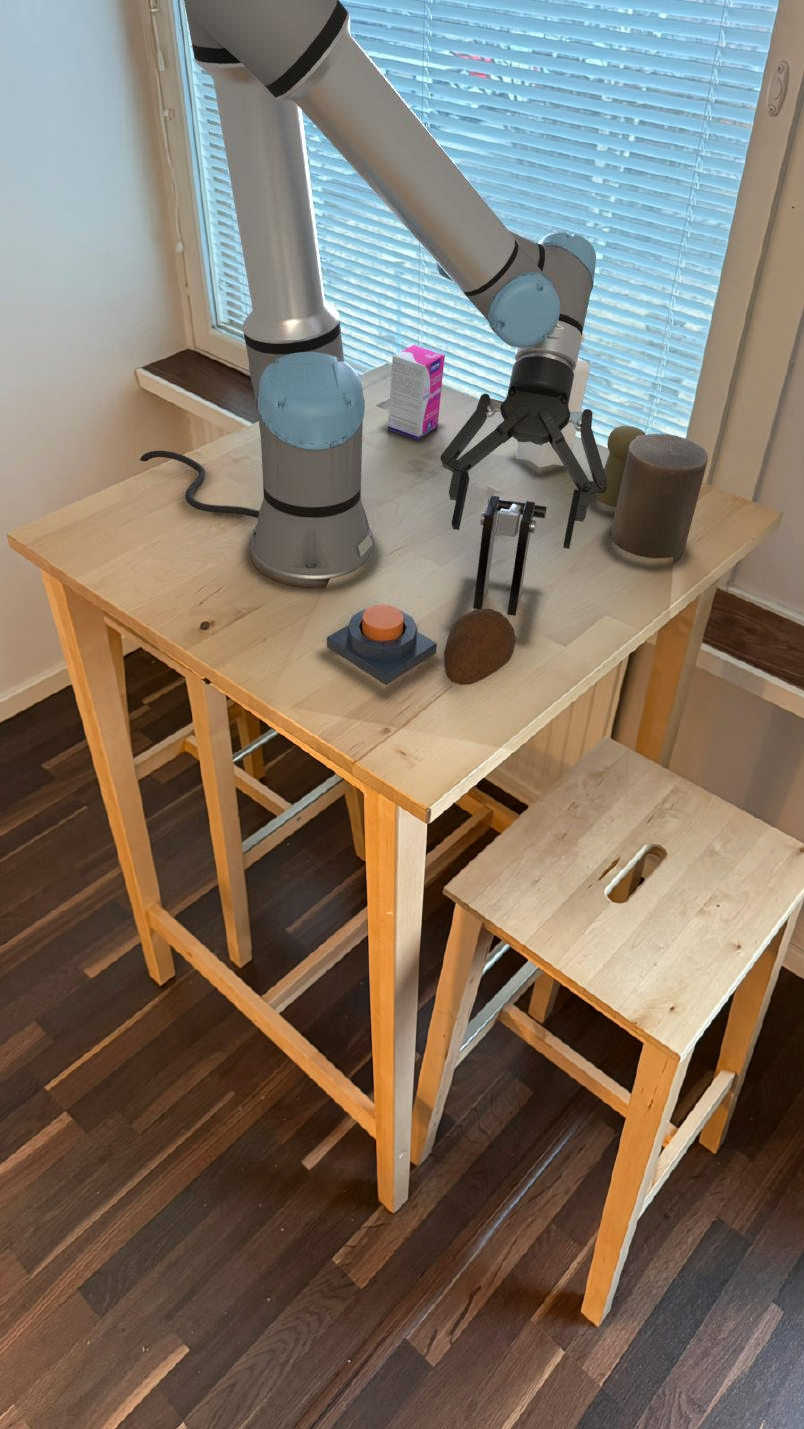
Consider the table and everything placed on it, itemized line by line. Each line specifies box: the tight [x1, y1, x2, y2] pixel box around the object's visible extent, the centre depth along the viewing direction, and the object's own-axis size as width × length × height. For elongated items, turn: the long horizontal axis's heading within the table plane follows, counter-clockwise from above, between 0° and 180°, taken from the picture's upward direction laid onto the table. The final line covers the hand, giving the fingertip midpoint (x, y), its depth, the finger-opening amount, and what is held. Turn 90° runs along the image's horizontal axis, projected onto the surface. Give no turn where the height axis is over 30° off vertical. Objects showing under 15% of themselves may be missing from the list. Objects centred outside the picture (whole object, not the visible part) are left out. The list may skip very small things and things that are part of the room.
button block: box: [326, 608, 438, 686], centre depth 112 cm, size 9×8×4 cm
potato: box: [443, 608, 516, 686], centre depth 111 cm, size 7×10×7 cm
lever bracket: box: [472, 495, 537, 617], centre depth 117 cm, size 10×8×14 cm
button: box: [362, 604, 404, 642], centre depth 110 cm, size 4×4×2 cm
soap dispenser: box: [516, 331, 591, 468], centre depth 142 cm, size 6×6×22 cm
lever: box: [487, 497, 548, 538], centre depth 118 cm, size 13×7×2 cm, turn 168°
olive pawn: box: [594, 425, 647, 507], centre depth 138 cm, size 6×6×11 cm
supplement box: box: [386, 344, 446, 440], centre depth 152 cm, size 6×6×12 cm
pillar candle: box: [609, 433, 709, 564], centre depth 128 cm, size 10×10×15 cm
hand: (510, 536), depth 123 cm, fingers open, 13 cm apart
